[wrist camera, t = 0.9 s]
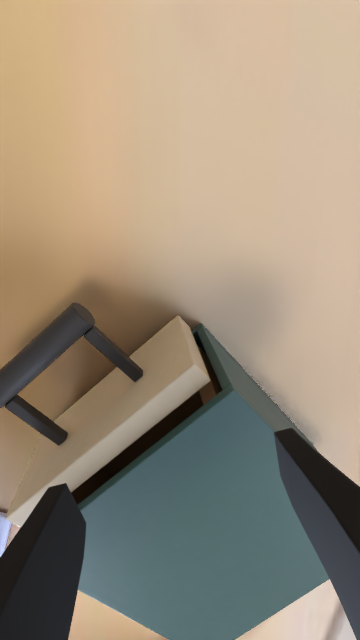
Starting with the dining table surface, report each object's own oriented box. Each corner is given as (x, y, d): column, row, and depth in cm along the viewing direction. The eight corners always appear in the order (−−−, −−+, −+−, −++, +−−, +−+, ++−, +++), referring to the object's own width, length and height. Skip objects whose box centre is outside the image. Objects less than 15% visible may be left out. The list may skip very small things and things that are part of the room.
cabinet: (58, 442, 22) (18, 558, 15) (201, 322, 21) (234, 389, 13) (187, 536, 27) (204, 659, 20) (313, 445, 25) (383, 544, 18)
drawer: (-23, 384, 19) (-93, 463, 14) (120, 252, 18) (109, 277, 12) (174, 526, 25) (184, 624, 20) (294, 438, 24) (345, 516, 18)
